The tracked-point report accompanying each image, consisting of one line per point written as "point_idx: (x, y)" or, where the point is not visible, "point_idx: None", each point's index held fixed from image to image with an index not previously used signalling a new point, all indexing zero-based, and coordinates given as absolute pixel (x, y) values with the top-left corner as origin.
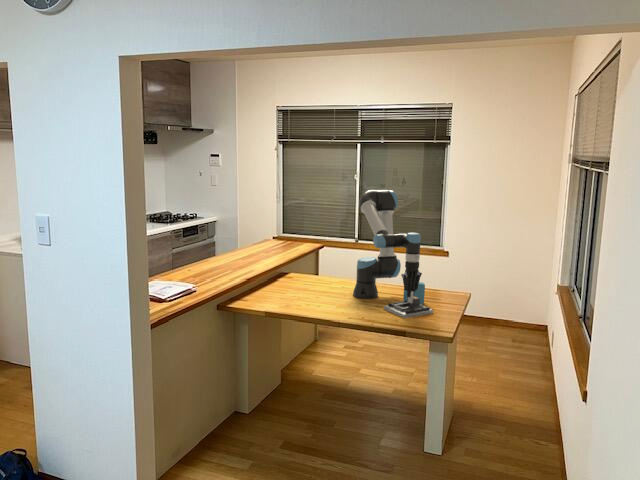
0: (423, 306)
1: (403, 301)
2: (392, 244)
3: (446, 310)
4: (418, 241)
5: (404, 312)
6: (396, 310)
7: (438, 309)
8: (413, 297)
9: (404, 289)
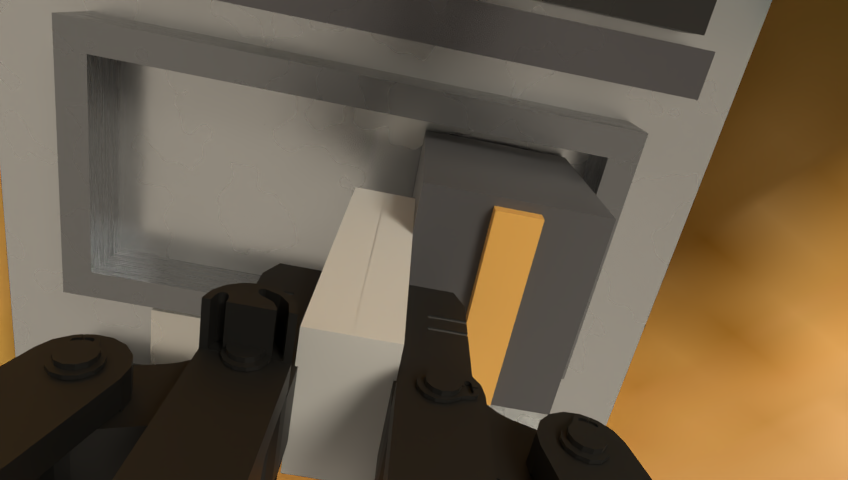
0: (626, 311)
1: None
2: None
3: (827, 475)
4: None
5: (90, 324)
6: (28, 176)
7: (799, 394)
8: (471, 305)
9: (42, 348)
